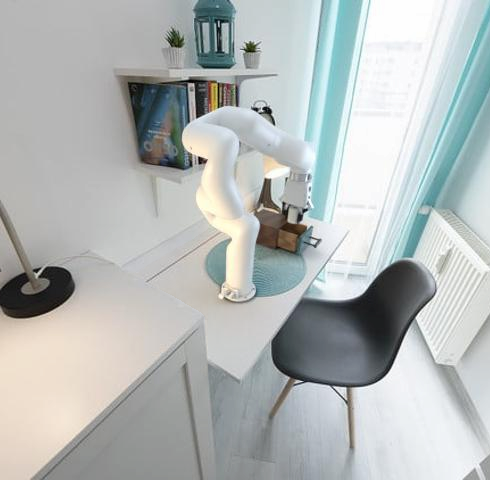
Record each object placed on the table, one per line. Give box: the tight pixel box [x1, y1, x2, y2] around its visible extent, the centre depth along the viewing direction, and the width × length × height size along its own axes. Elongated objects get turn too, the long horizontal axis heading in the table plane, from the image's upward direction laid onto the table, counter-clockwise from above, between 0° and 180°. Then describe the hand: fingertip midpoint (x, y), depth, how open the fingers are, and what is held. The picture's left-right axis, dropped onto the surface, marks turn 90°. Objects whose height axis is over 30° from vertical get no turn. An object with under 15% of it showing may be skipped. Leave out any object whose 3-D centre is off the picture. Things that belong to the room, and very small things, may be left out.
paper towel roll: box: [287, 205, 299, 224], centre depth 116 cm, size 5×5×6 cm
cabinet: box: [253, 208, 288, 250], centre depth 138 cm, size 16×15×11 cm
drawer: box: [276, 222, 323, 256], centre depth 131 cm, size 20×14×9 cm, turn 57°
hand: (293, 219), depth 117 cm, fingers closed on paper towel roll, 4 cm apart
